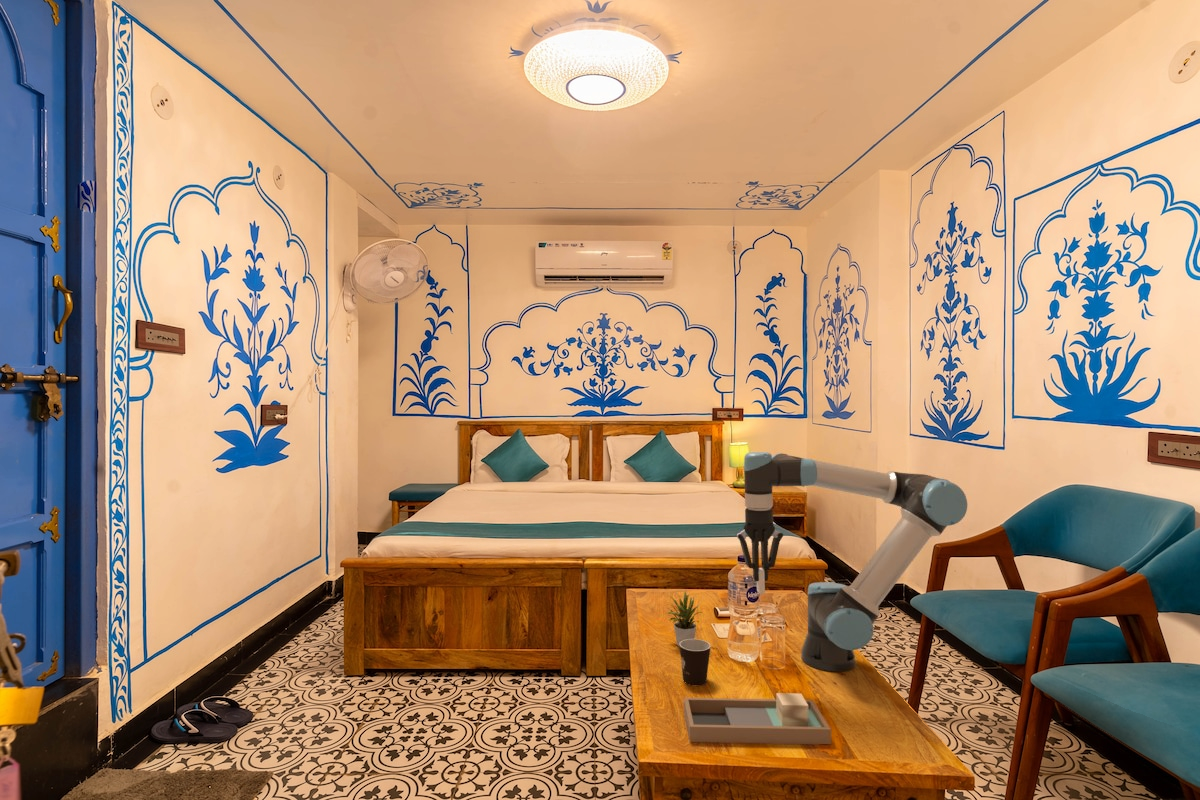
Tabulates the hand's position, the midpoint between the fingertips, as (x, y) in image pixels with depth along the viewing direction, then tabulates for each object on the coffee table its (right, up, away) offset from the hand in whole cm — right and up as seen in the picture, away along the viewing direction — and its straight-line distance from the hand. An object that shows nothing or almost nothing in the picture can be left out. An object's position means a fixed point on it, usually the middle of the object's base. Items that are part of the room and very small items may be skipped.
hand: (760, 592), depth 179 cm
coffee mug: (-18, -25, +1) cm, 31 cm away
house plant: (-18, -24, +26) cm, 40 cm away
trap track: (-8, -25, -25) cm, 36 cm away
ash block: (+1, -23, -26) cm, 34 cm away
